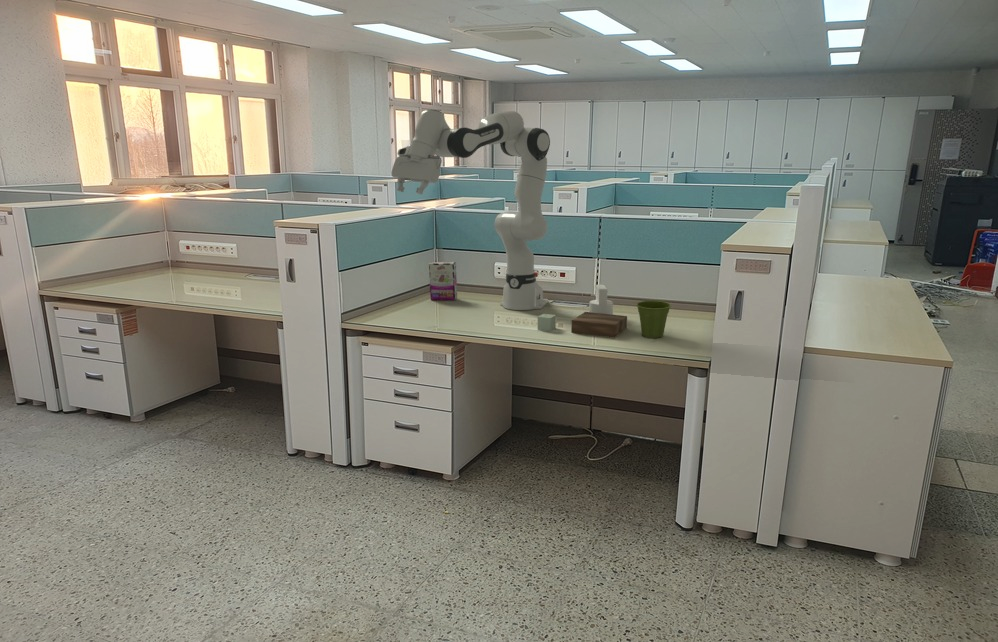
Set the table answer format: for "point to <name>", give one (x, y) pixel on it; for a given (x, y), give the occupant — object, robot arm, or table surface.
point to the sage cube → (546, 322)
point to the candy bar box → (443, 281)
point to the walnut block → (599, 324)
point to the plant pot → (653, 317)
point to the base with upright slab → (601, 302)
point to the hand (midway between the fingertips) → (409, 192)
